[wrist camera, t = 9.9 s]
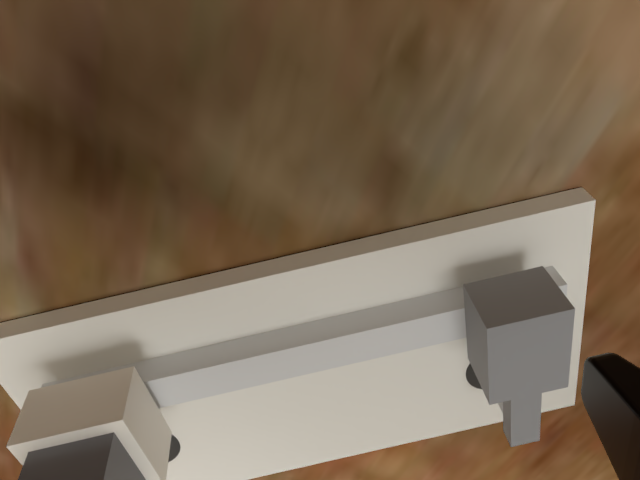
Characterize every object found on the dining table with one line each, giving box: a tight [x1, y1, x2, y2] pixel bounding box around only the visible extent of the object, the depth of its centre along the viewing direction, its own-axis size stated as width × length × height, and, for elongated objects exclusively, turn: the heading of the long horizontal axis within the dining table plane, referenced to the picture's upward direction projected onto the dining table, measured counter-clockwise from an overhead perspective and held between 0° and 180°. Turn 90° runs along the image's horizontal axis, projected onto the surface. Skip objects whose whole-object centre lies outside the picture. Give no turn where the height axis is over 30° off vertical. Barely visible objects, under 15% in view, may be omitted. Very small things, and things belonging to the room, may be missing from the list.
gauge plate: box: [0, 187, 596, 480], centre depth 23 cm, size 12×24×5 cm, turn 101°
